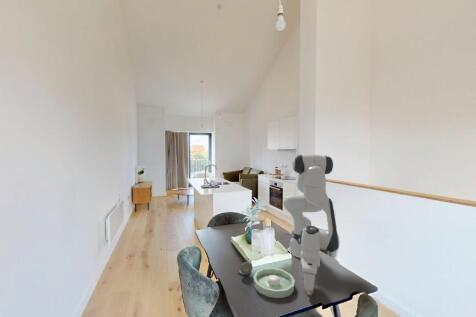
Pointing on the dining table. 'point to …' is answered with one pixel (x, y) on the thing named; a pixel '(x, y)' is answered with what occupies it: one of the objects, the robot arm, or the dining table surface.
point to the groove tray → (274, 290)
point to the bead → (311, 291)
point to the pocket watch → (245, 268)
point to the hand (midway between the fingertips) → (309, 288)
